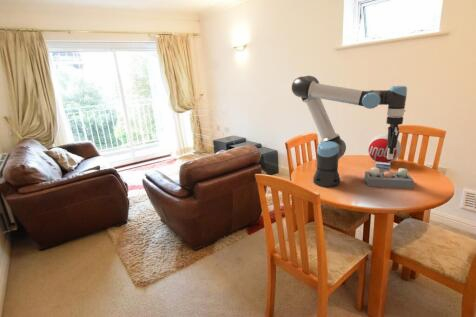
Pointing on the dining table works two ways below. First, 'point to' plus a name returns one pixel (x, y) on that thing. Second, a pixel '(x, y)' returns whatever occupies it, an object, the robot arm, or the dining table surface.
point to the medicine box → (383, 166)
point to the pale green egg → (402, 172)
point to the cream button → (374, 171)
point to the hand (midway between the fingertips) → (389, 158)
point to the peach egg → (388, 174)
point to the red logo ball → (382, 149)
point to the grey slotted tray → (388, 180)
